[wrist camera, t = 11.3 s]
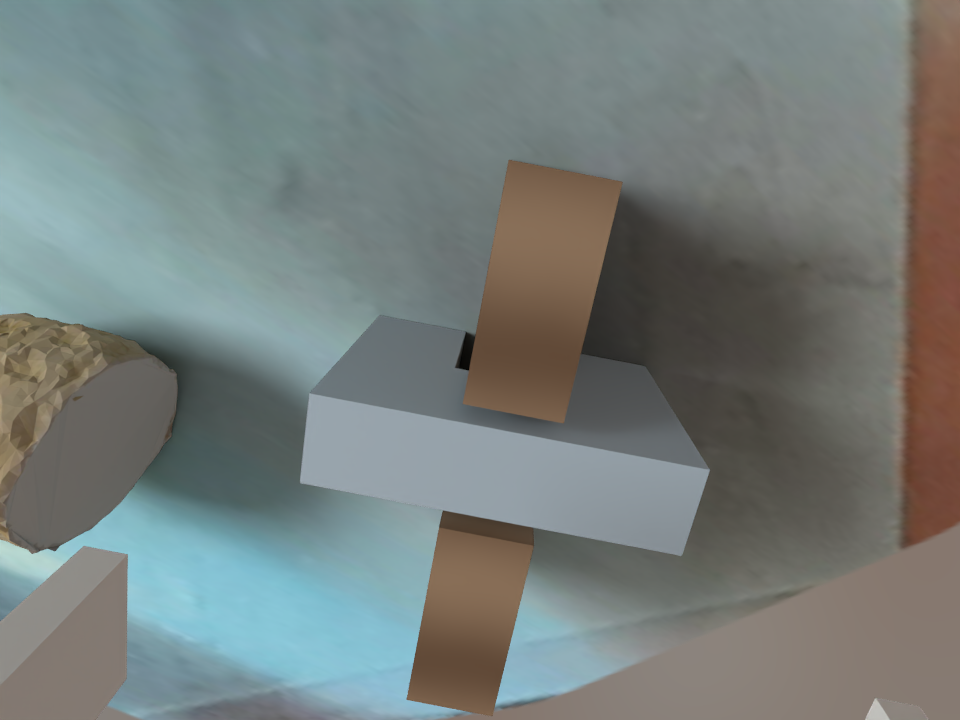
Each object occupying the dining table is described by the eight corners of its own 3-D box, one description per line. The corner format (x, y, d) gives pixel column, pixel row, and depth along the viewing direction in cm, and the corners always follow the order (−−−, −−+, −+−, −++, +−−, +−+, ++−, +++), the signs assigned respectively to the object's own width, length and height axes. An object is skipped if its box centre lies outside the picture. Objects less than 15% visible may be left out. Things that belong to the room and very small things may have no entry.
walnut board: (512, 160, 26) (508, 159, 17) (584, 174, 26) (622, 181, 17) (440, 536, 31) (406, 699, 22) (499, 548, 31) (492, 716, 22)
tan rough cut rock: (121, 624, 26) (-212, 597, 21) (156, 460, 34) (-78, 415, 29) (194, 443, 22) (-186, 363, 18) (213, 310, 30) (-42, 232, 26)
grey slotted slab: (370, 378, 29) (299, 482, 20) (379, 315, 28) (309, 393, 19) (628, 427, 29) (682, 556, 20) (645, 366, 28) (709, 470, 19)
